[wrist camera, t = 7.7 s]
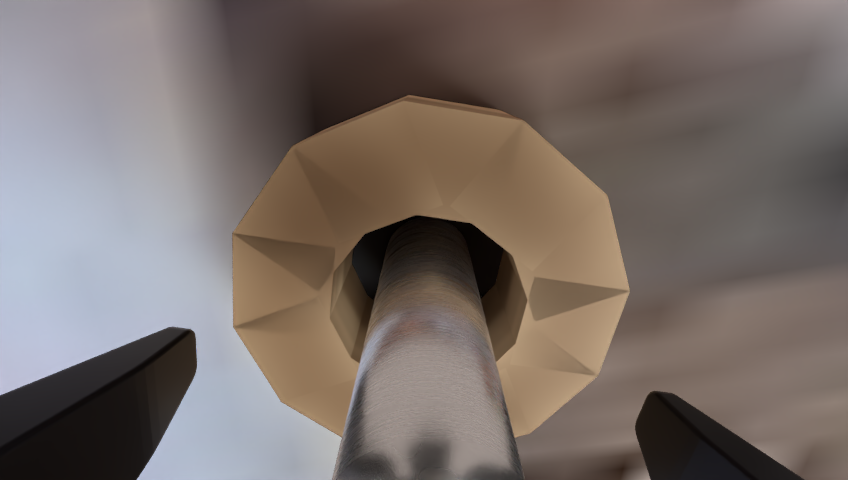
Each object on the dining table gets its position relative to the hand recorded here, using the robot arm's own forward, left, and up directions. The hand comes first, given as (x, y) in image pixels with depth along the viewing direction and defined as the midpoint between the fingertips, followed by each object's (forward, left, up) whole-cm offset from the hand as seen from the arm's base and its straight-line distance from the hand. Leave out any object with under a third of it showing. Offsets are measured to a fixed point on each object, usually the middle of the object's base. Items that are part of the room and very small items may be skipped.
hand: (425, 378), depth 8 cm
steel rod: (0, 0, -6) cm, 6 cm away
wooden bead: (0, 0, -6) cm, 6 cm away
